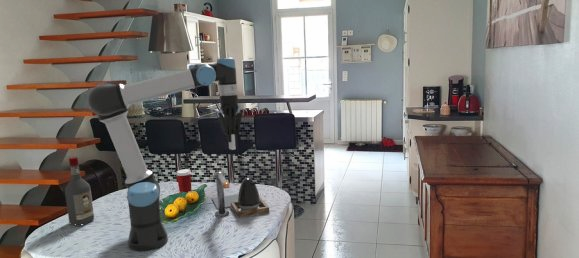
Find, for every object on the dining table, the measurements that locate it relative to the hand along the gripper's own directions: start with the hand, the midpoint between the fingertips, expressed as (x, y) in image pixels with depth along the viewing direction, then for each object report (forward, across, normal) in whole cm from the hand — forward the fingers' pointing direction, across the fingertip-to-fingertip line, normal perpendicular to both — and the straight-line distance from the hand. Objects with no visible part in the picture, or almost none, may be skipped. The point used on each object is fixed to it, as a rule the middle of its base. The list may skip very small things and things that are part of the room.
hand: (232, 149), depth 199 cm
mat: (+31, +12, +22) cm, 39 cm away
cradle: (+31, +11, +5) cm, 34 cm away
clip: (+14, -5, +3) cm, 15 cm away
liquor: (+32, -48, +53) cm, 79 cm away
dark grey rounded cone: (+32, +11, +5) cm, 34 cm away
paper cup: (+31, +1, +45) cm, 55 cm away
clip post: (+31, -1, +11) cm, 33 cm away
